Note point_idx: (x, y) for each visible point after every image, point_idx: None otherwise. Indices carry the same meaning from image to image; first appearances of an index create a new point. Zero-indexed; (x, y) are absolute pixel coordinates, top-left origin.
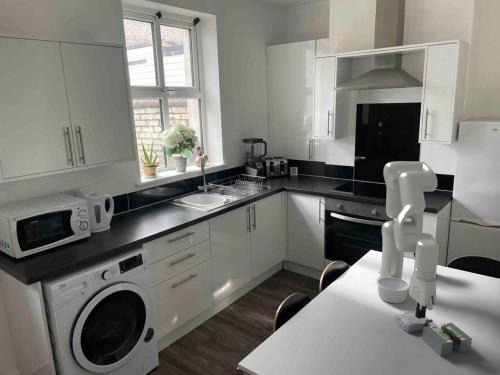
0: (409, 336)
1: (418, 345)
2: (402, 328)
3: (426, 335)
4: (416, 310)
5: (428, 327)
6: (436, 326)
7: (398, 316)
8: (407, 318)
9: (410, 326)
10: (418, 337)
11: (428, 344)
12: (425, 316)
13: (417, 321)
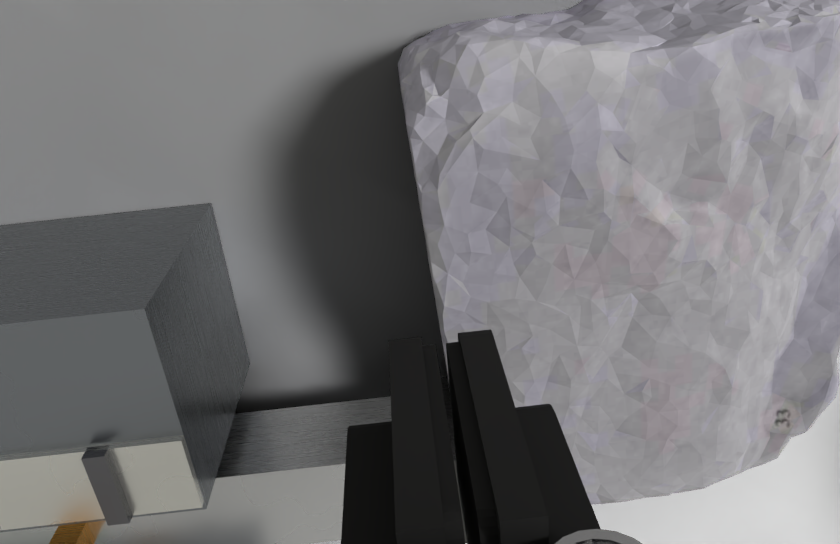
0: (288, 27)
1: (23, 51)
2: (522, 14)
3: (64, 266)
4: (498, 443)
5: (128, 395)
6: (285, 523)
7: (762, 25)
8: (589, 161)
9: (406, 124)
10: (253, 167)
11: (47, 222)
12: (608, 497)
13: (491, 317)
